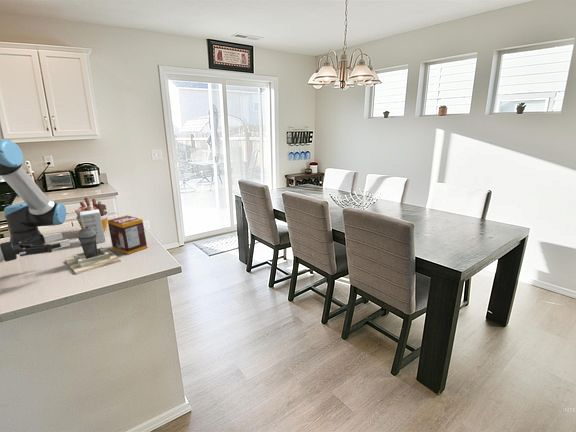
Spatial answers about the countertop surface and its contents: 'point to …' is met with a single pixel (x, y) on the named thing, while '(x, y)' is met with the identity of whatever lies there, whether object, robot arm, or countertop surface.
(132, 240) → the supplement box
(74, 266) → the cup holder
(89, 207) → the bucket of meat
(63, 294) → the countertop surface
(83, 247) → the beverage cup
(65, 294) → the countertop surface
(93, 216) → the supplement box
